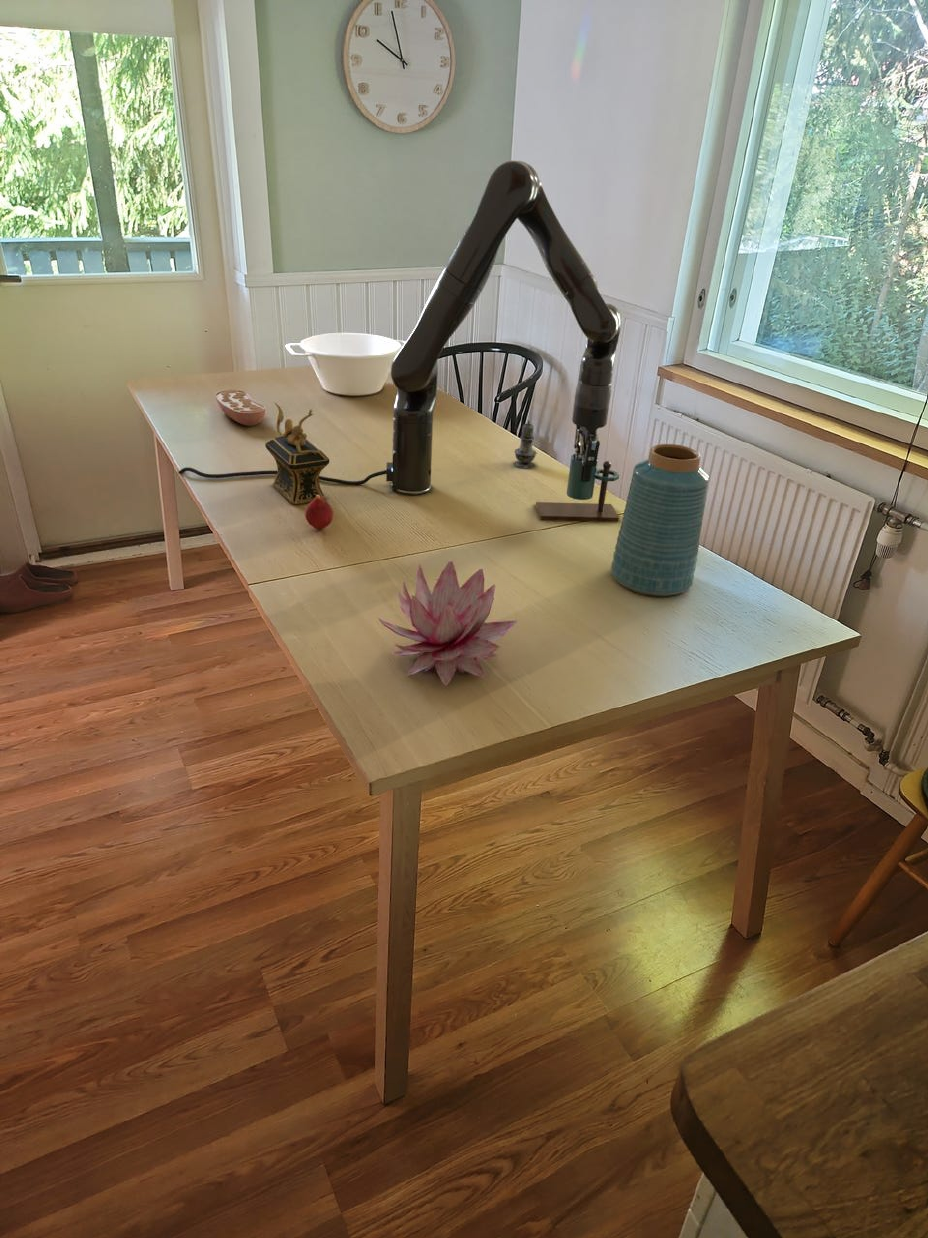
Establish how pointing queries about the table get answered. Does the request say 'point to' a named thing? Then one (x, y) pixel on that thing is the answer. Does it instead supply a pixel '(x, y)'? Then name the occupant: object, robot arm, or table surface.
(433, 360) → the robot arm
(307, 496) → the decorative box
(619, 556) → the vase
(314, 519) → the onion
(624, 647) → the table surface
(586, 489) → the mug
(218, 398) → the anatomical model
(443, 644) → the decorative flower
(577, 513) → the mug stand
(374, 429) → the table surface
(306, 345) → the pot
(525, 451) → the grey chess piece
